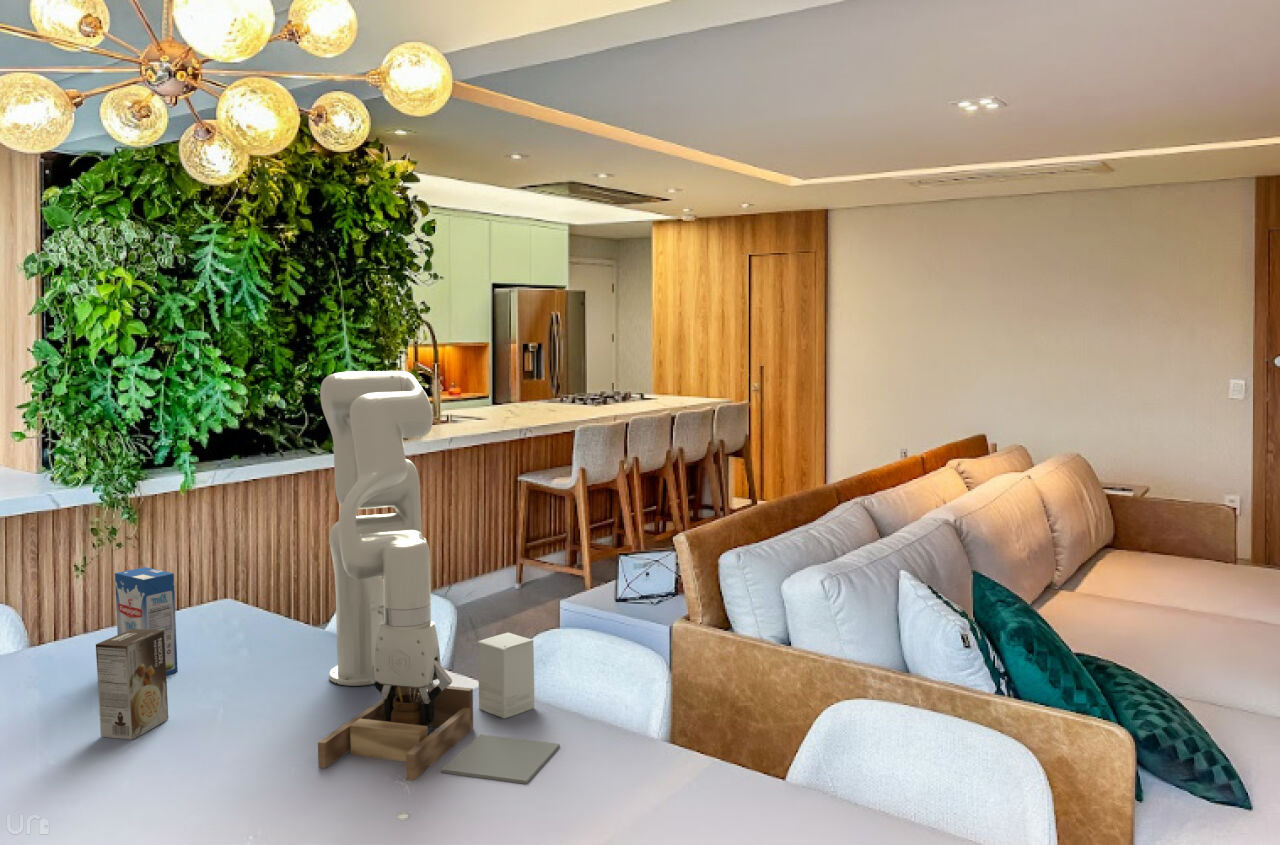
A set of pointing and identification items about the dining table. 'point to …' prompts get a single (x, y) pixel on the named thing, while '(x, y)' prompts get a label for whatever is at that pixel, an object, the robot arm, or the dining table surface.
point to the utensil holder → (406, 708)
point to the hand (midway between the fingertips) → (409, 721)
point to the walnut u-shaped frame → (452, 727)
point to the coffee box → (132, 683)
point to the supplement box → (506, 674)
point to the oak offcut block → (385, 738)
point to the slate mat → (501, 758)
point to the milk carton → (148, 606)
